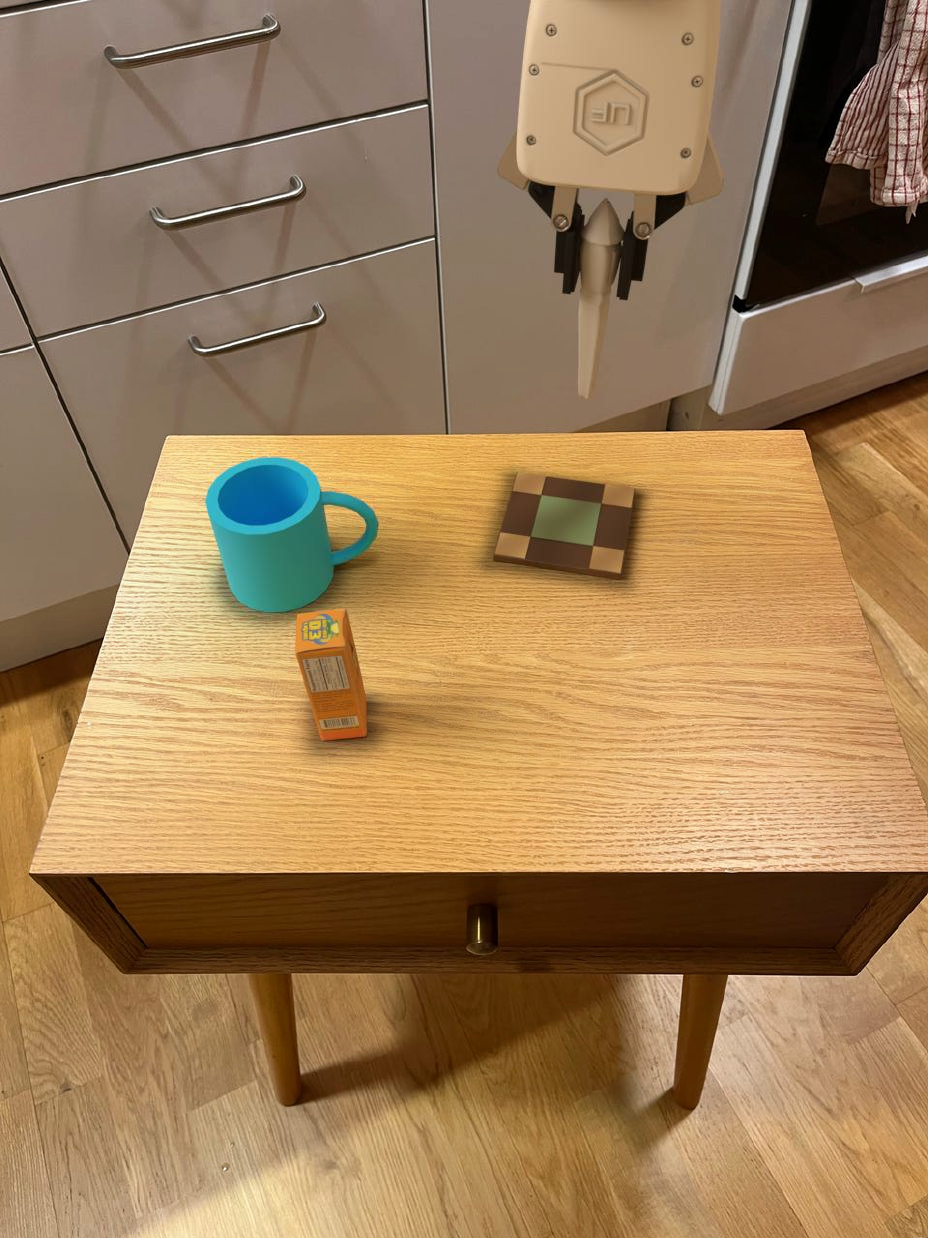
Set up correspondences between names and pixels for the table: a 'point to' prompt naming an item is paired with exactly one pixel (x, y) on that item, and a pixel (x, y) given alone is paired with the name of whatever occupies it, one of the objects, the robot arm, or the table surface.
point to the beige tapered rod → (596, 289)
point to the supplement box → (331, 673)
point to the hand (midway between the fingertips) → (598, 283)
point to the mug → (279, 532)
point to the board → (566, 525)
